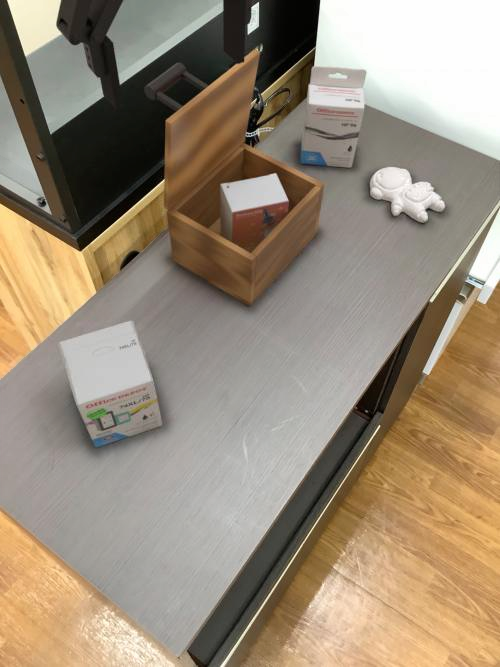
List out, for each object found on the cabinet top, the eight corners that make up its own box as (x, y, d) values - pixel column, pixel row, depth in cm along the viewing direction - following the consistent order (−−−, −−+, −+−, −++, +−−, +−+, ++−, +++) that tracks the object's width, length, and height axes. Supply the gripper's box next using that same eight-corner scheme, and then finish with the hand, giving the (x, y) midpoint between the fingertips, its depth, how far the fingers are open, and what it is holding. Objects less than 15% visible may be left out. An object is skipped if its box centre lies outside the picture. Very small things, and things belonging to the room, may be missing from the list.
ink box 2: (299, 165, 101) (309, 85, 88) (300, 144, 103) (309, 64, 91) (352, 168, 101) (369, 89, 88) (352, 148, 103) (368, 68, 91)
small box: (230, 265, 88) (230, 213, 79) (220, 236, 91) (218, 182, 82) (284, 253, 89) (290, 200, 81) (272, 225, 92) (276, 171, 83)
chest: (316, 233, 93) (324, 183, 85) (250, 307, 85) (252, 260, 77) (242, 193, 97) (242, 142, 89) (172, 260, 89) (166, 211, 81)
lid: (260, 51, 75) (204, 17, 77) (171, 123, 68) (111, 84, 69) (245, 141, 88) (197, 110, 90) (168, 210, 81) (117, 175, 82)
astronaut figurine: (410, 232, 93) (415, 218, 91) (357, 185, 98) (361, 171, 96) (451, 208, 96) (457, 193, 94) (398, 164, 101) (402, 149, 99)
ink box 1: (94, 449, 74) (73, 405, 64) (78, 390, 78) (56, 340, 68) (164, 426, 75) (154, 379, 66) (144, 368, 80) (132, 317, 70)
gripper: (3, -136, 37) (75, 145, 55) (329, -208, 46) (300, 57, 63) (-41, -179, 41) (40, 100, 59) (270, -239, 49) (258, 21, 67)
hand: (175, 78), depth 61 cm, fingers open, 13 cm apart
